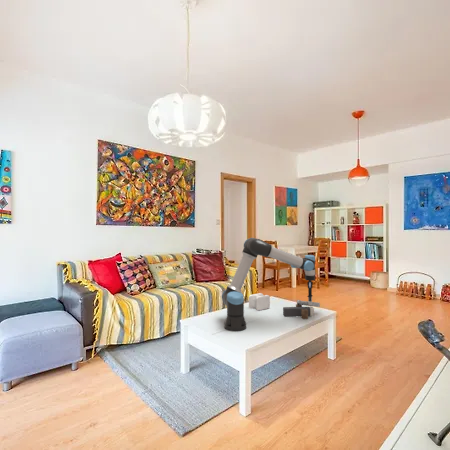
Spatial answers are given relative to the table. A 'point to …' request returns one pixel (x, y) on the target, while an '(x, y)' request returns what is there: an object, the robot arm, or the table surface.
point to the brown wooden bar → (303, 312)
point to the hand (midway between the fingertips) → (310, 304)
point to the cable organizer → (259, 301)
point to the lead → (296, 311)
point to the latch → (307, 303)
